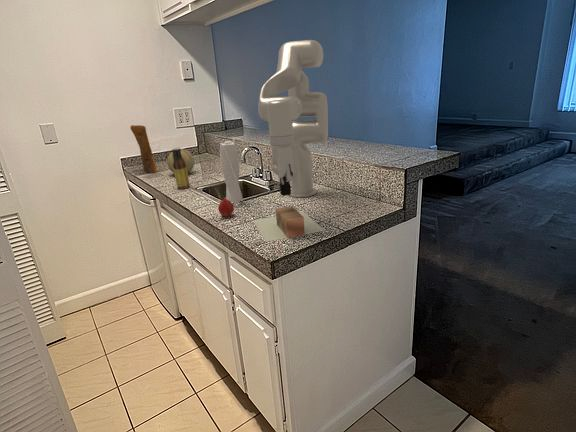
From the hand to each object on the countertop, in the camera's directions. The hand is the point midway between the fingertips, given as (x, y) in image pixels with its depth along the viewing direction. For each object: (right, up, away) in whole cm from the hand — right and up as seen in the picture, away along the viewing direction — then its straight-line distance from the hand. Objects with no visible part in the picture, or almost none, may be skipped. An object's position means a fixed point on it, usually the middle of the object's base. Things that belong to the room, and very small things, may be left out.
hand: (285, 194), depth 121 cm
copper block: (0, -7, +5) cm, 9 cm away
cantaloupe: (-60, +17, +87) cm, 107 cm away
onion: (-23, -8, +17) cm, 29 cm away
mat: (0, -11, +5) cm, 12 cm away
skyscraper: (-22, -2, +33) cm, 39 cm away
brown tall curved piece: (-84, +20, +99) cm, 132 cm away
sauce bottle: (-52, +7, +60) cm, 79 cm away
